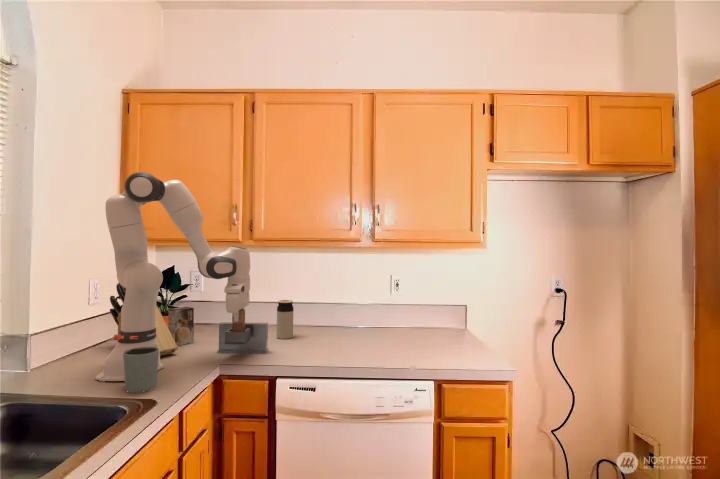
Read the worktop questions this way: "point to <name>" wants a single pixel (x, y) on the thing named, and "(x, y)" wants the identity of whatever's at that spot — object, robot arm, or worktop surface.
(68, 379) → the worktop surface
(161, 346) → the knife block
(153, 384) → the grey-green planter pot
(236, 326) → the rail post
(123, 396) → the worktop surface
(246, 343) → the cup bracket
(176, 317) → the coffee box
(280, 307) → the travel mug
